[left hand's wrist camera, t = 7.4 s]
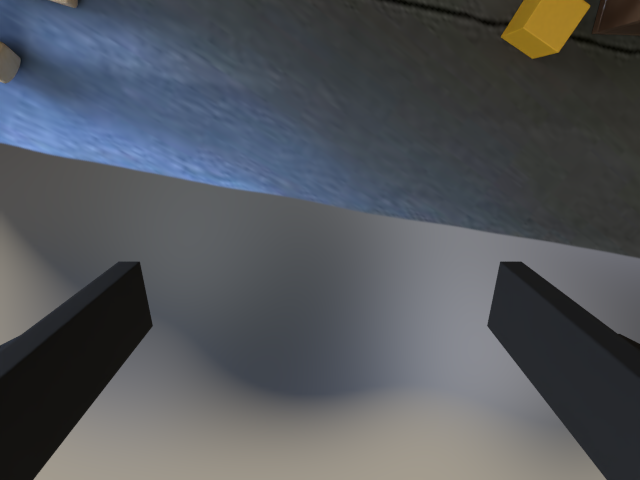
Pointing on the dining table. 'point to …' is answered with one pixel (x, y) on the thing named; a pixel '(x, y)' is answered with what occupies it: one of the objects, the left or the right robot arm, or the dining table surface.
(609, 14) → the chest
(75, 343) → the left robot arm
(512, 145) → the dining table surface
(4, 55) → the pounding bench toy
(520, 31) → the block
